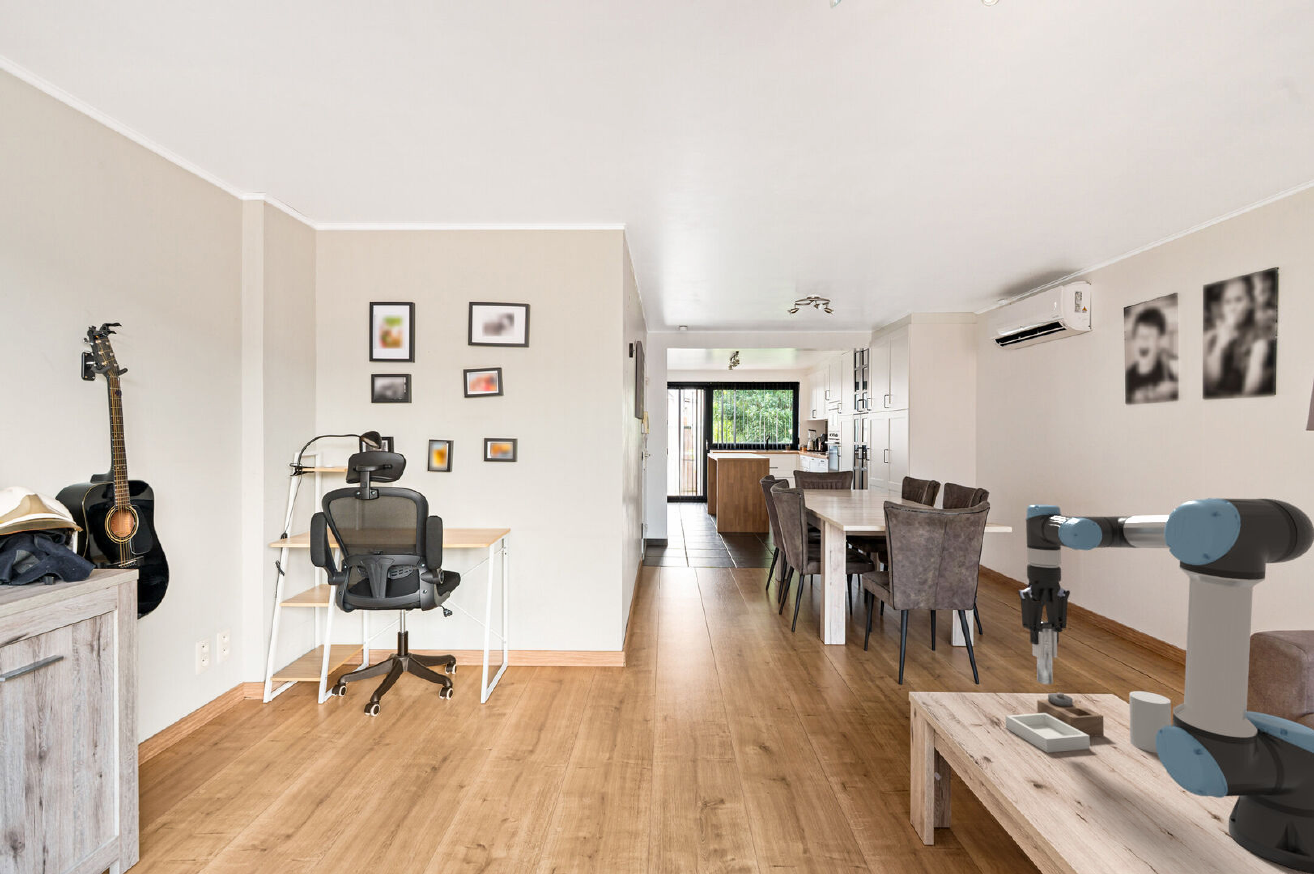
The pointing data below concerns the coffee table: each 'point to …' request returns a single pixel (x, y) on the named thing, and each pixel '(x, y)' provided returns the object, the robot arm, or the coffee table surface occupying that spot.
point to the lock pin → (1045, 655)
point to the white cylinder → (1147, 718)
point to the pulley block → (1072, 714)
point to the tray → (1047, 732)
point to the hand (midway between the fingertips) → (1044, 656)
